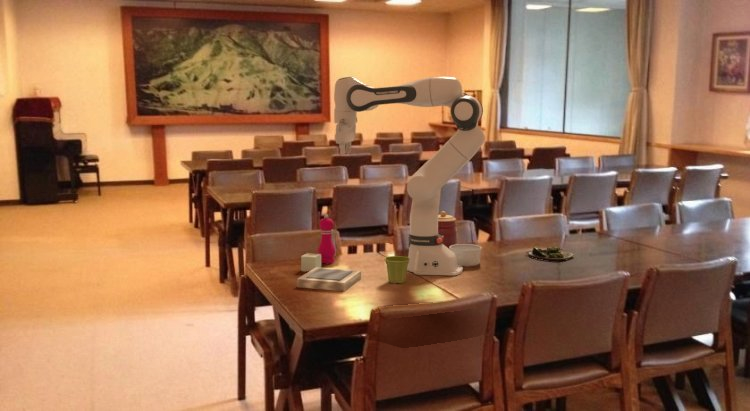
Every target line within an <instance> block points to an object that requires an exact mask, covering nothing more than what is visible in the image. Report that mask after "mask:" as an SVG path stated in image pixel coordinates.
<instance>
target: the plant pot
mask: <svg viewBox="0 0 750 411" xmlns="http://www.w3.org/2000/svg"><path fill="white" fill-rule="evenodd" d="M384 261H385V264H386V271H387V279H388V282H389V283H390V284H397V283H398V284H403V283H405V282H406V279H407V272H408V270H407V266H408V264H409V261H410V258H408V256H404V255H403V256H400V255H392V256H390V255H389V256H385V257H384Z"/></svg>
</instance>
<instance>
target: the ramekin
mask: <svg viewBox="0 0 750 411" xmlns="http://www.w3.org/2000/svg"><path fill="white" fill-rule="evenodd" d="M449 249H450V250H451V251H452V252H454V253H455V255H456V258H457V265H461V266H462V267H475V266H478V265H479V264H480V261H481V257H482V250H483V248H482V246H480V245H477V244H471V243H457V244H456V245H451V246H450V247H449Z"/></svg>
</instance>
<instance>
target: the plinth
mask: <svg viewBox="0 0 750 411" xmlns="http://www.w3.org/2000/svg"><path fill="white" fill-rule="evenodd" d="M360 280H362V270H356V269H355V270H354V269H342V268H329V267H321V268H318V267H316V268H314V269H313V270H311V271H309V272H307V273H304V274H303V275H301V276H300V277H298V278H296V287H297V288H303V289H313V290H314V289H315V290H323V291H324V290H326V291H334V292H335V291H336V292H337V291H339V292H346V291H347V290H348V289H349V288H351V287H352V286H354V285H355V284H356V283H357V282H359V281H360Z"/></svg>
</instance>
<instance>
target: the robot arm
mask: <svg viewBox="0 0 750 411" xmlns="http://www.w3.org/2000/svg"><path fill="white" fill-rule="evenodd" d="M333 91H334V92H333V93H334V94H333V95H334V96H333V100H334V105H335V106H334V112H333V114H334V115H333V117H334V118H333V119H334V124H336V126H335V144H338V147H339V153H340V156H344V155H346V154H350V153H351V149H352V142H354V141H355V139H356V130H357V123H358V117H357V113H359V112H365V111H366V112H367V111H372V110H375V109H376V108H378V107H379V105H380V106H381V105H390V104H401V105H408V106H413V107H420V108H421V107H422V108H433V107H448V108H449V109H450V115H451V119H452V121H453V122H454V124H455V126H456V128H457V130H456V131H455V133H454V134H453V135H452V136H451V137H450V138H449V140H447V141H446V142H445V143H444V144H443V145H442V146H441V147H440V149H438V150H437V151H436V152H435V153H434V155H432V156H431V157H430V158H428V159H427V161H426V162H424V164H423V165H422V166H420V168H418V170H417V171H415V172H414V173H413V174H412V176H410V177H409V179H408V180H407V183H406V191H407V194H408V196H409V197H410V198H411V199H412V200H411V207H410V212H409V234H408V240H407V241H408V243H407V244H408V256H407V257H408V258H410V261H409V264H408V266H407V272H411V273H413V274H415V275H419V276H421V275H422V276H423V275H424V276H458V275H460V274H462V273H463V270H464V266H461V265H457V258H456V255H455V253H454V252H452V251H451V250H450V249H448V248H447V247H446V246H445V245H443V244H442V243H443V236H441V235H439V234H438V215H439V213H440V212H439V211H440V210H439V209H440V202H441V194H442V193H441V191H442V190H441V189H442V188H443V186H445V185H446V184H447V183H448V182H449V181H450V180H451V179H452V178H453V177H454V176H455V175H456V174H457V173H458V172H459V171H460V170H462V169H463V167H464V166H465V165H466V164H468V163H469V161H470V160H471V159H472V158H473V157H475V155H476V154H477V153H478V151H479V150H480V149H481V147H482V146H483V145H484V143H485V140H486V135H485V132H484V131H483V129H482V128H481V127H480V125H479V121H480V120H481V119H482V116H483V113H484V108H483V104H482V103H481V101H480V100H478V99H477V98H476V97H474V96H472V95H470V94H468V93H466V92H463V87H462V84H461V81H460V80H459V79H458V78H456V77H453V76H433V77H432V76H431V77H424V78H420V79H416V80H413V81H412V80H411V81H409V82H407V83H403V84H400V85H395V86H385V87H384V86H383V87H374V86H372V85H368V84H366V83H363V82H361V81H360V80H358V79H356V78H355V77H354V76H346V77H341V78H338V79H337V80H336V81H335V84H334V90H333Z"/></svg>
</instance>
